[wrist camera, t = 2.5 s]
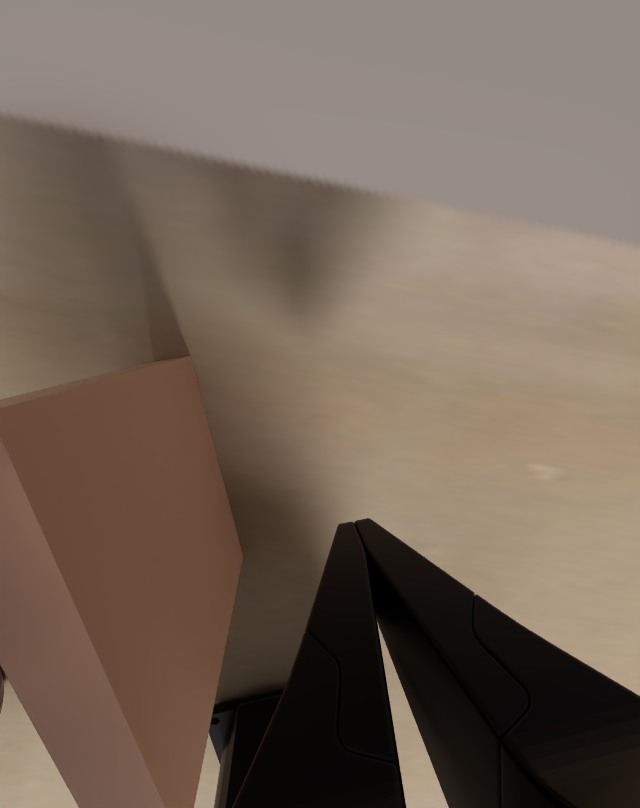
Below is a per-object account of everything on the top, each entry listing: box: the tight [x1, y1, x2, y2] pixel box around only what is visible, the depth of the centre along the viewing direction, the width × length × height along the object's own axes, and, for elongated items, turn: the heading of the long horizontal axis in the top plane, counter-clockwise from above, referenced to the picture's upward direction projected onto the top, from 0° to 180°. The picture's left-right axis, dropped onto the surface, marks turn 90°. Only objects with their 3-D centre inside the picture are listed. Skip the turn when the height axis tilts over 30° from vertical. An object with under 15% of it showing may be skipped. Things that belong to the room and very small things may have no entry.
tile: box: [0, 356, 243, 808], centre depth 10 cm, size 10×2×9 cm, turn 9°
